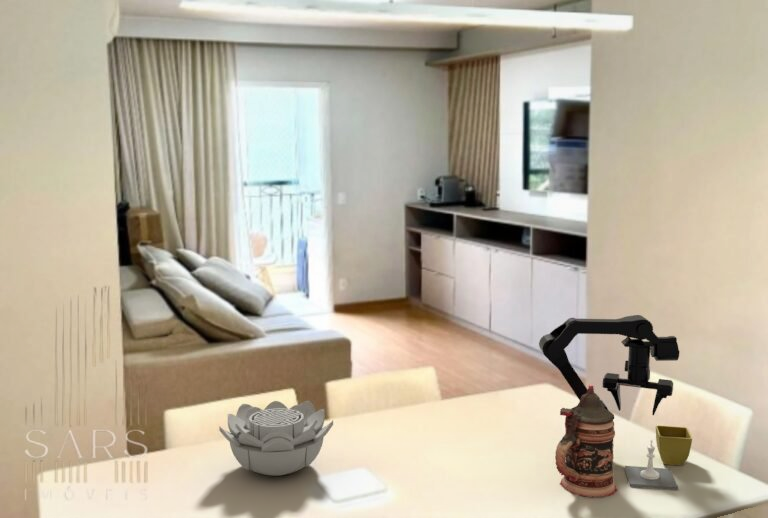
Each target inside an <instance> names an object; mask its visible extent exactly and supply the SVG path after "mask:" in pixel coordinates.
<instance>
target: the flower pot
mask: <svg viewBox="0 0 768 518" xmlns="http://www.w3.org/2000/svg"><path fill="white" fill-rule="evenodd" d="M655 440H656V441H655V443H656V447H657V450H658V453H659V456H660V459H661V462H662V464H663V465H667V466H668V465H670V466H683V465H685V463H686V462H687V460H688V458H689V456H690V453H691V452H690V451H691V449H692V443H693V437H692V434H691V432H690V430H689V428H688V427H684V426H671V425H670V426H668V425H655Z"/></svg>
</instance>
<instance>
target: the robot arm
mask: <svg viewBox="0 0 768 518" xmlns="http://www.w3.org/2000/svg"><path fill="white" fill-rule="evenodd" d="M579 334H582V335H590V334H591V335H619V336H624V337H625V338H624V339H623V340H621V344H622V345H623V347H625V348H628V360H625V362H624V372H627V378H620V374H619V373H612V372H611V373H610V372H607V373H605V374H604V376H603V378H602V388H603V389H606V391H607V392H610V394H611V395H612V396H613V399H614V401H615V404H616V406H617V409H618V411H619V412H620V411H621V409H622V408H621V407H622V401H621V400H622V399H621V386H623V387H624V386H625V387H633V388H640V389H641V388H642V389H648V390H656V393H655V397H654V402H653V406H652V407H653V408H652V416H654V415H655V413H656V412H657V410H658V407H659V405H660V403H661V402H662V400H663V399H667V398H668V397H672V396H673V392H674V381H673V380H671V379H662V378H658V381H657V382H654V381H650V379H651V369H650V367H651V366H650V360H651V359H650V358H654V360H655V361H657V362H658V361H659V362H662V361H664V362H665V361H669V362H671V361H673V362H674V361H678V360H679V358H680V349H679V344H678V340H677V339H678V338H677V337H676V336H675V335H669V336H658V335H656V333H655V332H654V326H653V323H651V321H649V319H647V318H646V317H644V316H643V315H639V314H634V315H628V316H623V317H620V318H615V319H614V318H575V317H570V318H568V319H566V320H565V321H564V322H563V323H562V324H560V325H559V326H557V327H555V328H553V330H552V331H550V333H547V334H544V335H543V336H542V337H540V340H539V342H538V346H539V349H540V350H541V352H542V354H543V355H544V356H545V358H546V359H547V360H548V361H549V362H550V363H551V364H552V365H553V366H555V368H557V369H558V371H559V372H560V373H561V374H562V376H563V378H564V379H565V380H566V382H567V384H568V385H569V387H570V388H571V390H572V392H574V394H575V396H576V397H577V399H578V400H579V401H580V399H581V396H582V395H584V394H586V393H587V390H588V388H587V386H586V385H585V384H584V382H583V380H582V379H581V378H580V376H579V375H578V373H577V372H576V370H575V369H574V368H573V365H572V364H571V363H570V360H569V357H568V355H567V352H566V350H565V349H566V348H567V347H568V346H570V344H571V342H572V341H573V340H574V339H575V337H576V336H577V335H579ZM644 340H646V341H644ZM600 401H601V404H602V406H603V407H604V408H605V409H607V410H609V409H608V407H607V405H606V404H605V403H604V402H603V400H602V399H600ZM613 426H614V427H615V422H614V421H613Z"/></svg>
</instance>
